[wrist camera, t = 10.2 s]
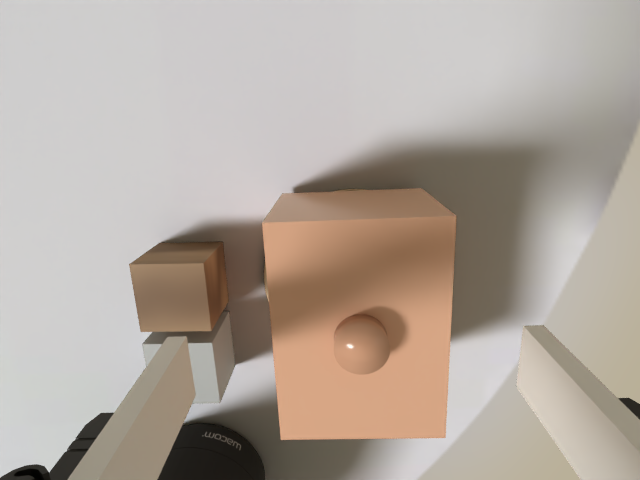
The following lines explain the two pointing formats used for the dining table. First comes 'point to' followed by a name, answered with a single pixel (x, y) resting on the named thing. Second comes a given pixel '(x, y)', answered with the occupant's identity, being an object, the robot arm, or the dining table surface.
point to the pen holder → (211, 456)
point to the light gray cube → (203, 357)
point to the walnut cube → (180, 286)
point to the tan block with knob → (360, 312)
